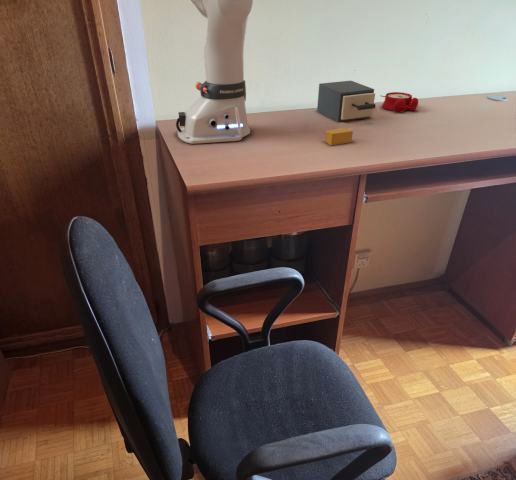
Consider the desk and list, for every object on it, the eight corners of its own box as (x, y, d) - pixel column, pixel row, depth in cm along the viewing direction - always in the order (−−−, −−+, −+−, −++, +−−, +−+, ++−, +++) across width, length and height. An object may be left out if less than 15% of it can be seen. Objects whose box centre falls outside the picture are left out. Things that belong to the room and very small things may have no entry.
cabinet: (370, 117, 152) (374, 89, 147) (337, 121, 149) (340, 92, 143) (347, 107, 162) (350, 80, 157) (317, 111, 159) (319, 83, 153)
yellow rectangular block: (330, 145, 130) (332, 133, 128) (325, 142, 133) (326, 130, 131) (351, 142, 132) (353, 130, 130) (345, 139, 135) (347, 127, 133)
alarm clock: (400, 91, 165) (427, 89, 153) (399, 110, 168) (425, 110, 156) (376, 93, 162) (401, 92, 150) (375, 113, 165) (400, 113, 153)
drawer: (380, 119, 147) (384, 96, 142) (350, 123, 144) (353, 100, 139) (350, 106, 160) (353, 85, 155) (322, 110, 156) (324, 88, 152)
